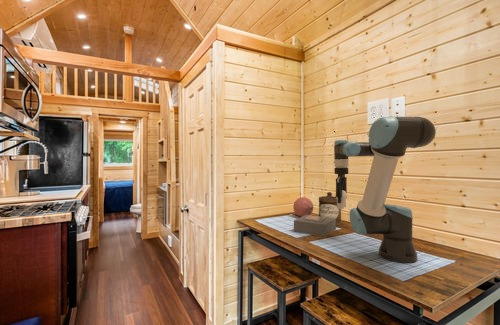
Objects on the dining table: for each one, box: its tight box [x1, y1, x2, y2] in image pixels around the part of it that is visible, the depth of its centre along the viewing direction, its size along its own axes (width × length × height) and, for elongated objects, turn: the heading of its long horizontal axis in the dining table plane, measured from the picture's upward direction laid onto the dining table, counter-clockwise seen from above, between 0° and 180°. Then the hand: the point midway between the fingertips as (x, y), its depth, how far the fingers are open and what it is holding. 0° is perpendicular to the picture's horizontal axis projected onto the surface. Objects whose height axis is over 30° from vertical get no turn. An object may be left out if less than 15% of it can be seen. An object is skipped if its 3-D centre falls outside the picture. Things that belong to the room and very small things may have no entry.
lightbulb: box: [336, 190, 348, 210], centre depth 145 cm, size 6×6×11 cm
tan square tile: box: [304, 214, 326, 222], centre depth 161 cm, size 10×10×3 cm
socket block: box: [293, 214, 337, 238], centre depth 161 cm, size 20×20×7 cm
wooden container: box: [318, 191, 342, 227], centre depth 179 cm, size 15×15×22 cm
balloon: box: [292, 196, 314, 218], centre depth 198 cm, size 15×20×15 cm
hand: (341, 207), depth 145 cm, fingers closed on lightbulb, 6 cm apart
